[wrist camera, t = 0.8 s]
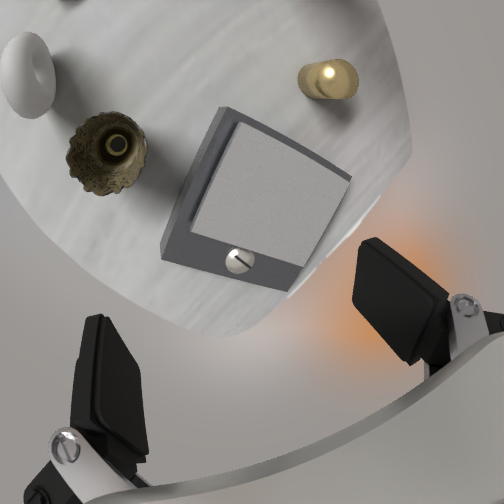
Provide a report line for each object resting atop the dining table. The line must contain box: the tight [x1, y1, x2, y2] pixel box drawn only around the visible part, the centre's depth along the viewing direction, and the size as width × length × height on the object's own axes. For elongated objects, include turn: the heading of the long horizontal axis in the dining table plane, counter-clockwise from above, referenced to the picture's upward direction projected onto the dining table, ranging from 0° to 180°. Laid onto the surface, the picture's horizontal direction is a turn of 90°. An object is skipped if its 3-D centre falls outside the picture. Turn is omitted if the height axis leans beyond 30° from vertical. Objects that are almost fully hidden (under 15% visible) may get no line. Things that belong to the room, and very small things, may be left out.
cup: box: [66, 111, 147, 196], centre depth 23 cm, size 8×7×8 cm
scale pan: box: [190, 122, 350, 267], centre depth 30 cm, size 12×15×1 cm
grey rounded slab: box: [0, 32, 56, 119], centre depth 15 cm, size 10×4×10 cm, turn 10°
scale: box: [160, 107, 352, 292], centre depth 33 cm, size 18×18×4 cm
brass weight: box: [298, 59, 359, 99], centre depth 27 cm, size 5×5×6 cm
